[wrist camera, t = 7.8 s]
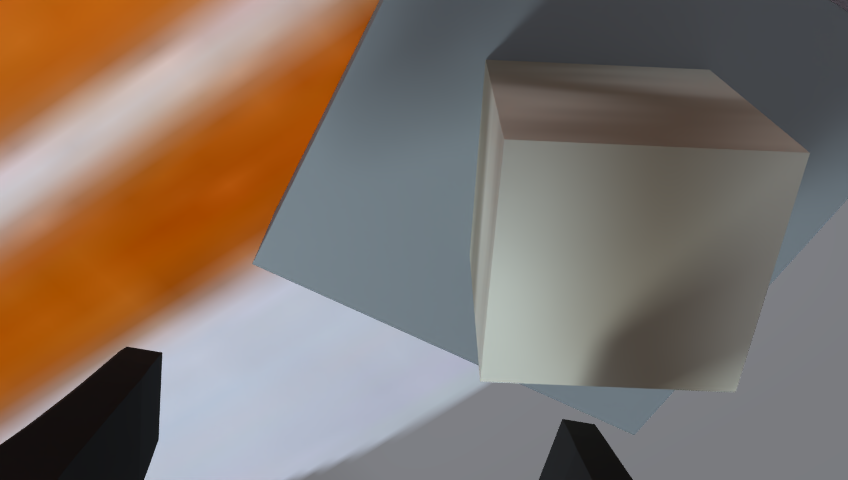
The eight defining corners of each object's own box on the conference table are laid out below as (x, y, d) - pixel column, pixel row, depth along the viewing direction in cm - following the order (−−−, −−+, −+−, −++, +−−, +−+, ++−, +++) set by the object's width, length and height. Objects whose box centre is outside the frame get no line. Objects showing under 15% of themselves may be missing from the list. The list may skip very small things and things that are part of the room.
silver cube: (469, 254, 19) (479, 381, 14) (485, 59, 16) (503, 139, 12) (665, 263, 19) (735, 392, 14) (709, 69, 16) (809, 153, 12)
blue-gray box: (274, 212, 22) (252, 264, 19) (483, -210, 17) (493, -219, 14) (612, 370, 24) (634, 435, 22) (882, 47, 19) (954, 80, 16)
